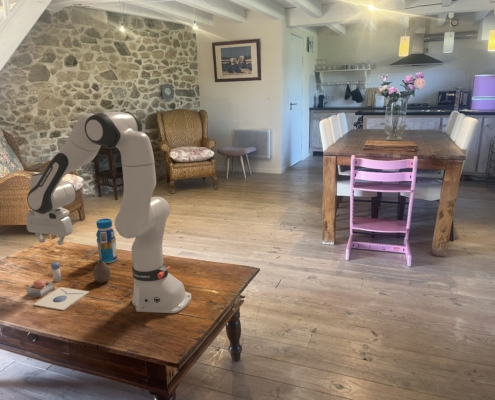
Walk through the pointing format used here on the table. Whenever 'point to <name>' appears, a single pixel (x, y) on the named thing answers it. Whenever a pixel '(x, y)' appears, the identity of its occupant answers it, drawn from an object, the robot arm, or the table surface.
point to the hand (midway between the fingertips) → (51, 243)
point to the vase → (101, 272)
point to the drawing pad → (61, 298)
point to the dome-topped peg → (56, 271)
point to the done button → (39, 283)
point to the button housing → (40, 290)
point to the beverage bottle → (106, 241)
